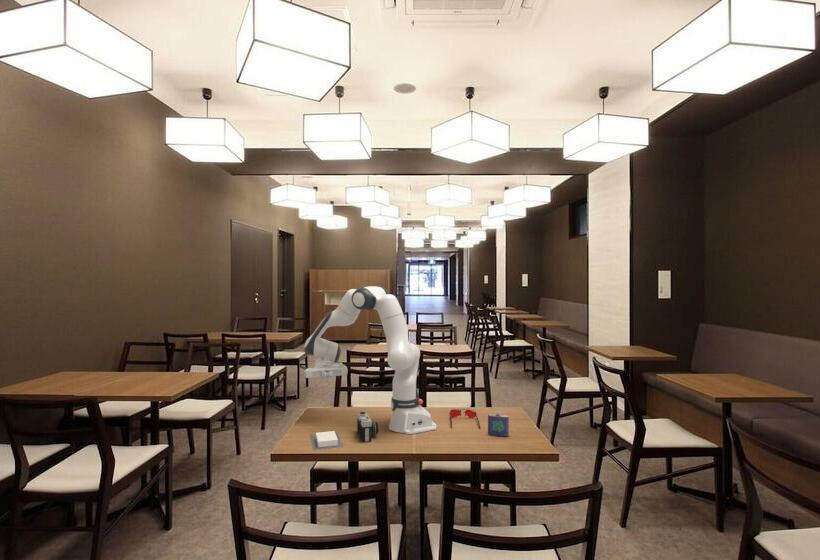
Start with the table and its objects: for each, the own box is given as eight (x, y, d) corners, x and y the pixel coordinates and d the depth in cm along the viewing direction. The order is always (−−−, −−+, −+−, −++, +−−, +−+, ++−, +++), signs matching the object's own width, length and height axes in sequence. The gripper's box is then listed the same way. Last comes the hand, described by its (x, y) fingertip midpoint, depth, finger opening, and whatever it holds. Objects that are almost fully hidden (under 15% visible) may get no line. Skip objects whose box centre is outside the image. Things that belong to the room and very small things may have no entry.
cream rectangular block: (334, 431, 190) (337, 439, 179) (334, 436, 190) (337, 446, 179) (315, 432, 188) (318, 441, 177) (315, 438, 188) (318, 448, 177)
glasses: (476, 418, 220) (476, 409, 220) (480, 429, 203) (480, 419, 203) (448, 418, 220) (448, 408, 220) (450, 429, 204) (450, 418, 204)
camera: (379, 442, 185) (378, 419, 185) (358, 444, 183) (357, 420, 183) (377, 431, 198) (376, 409, 198) (357, 433, 197) (356, 411, 197)
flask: (508, 435, 195) (508, 411, 195) (508, 437, 192) (508, 413, 192) (487, 433, 197) (488, 410, 197) (487, 435, 194) (487, 411, 194)
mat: (337, 433, 196) (337, 432, 196) (343, 448, 178) (343, 447, 178) (310, 435, 192) (310, 434, 192) (313, 451, 175) (313, 450, 175)
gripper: (303, 364, 214) (305, 369, 201) (344, 361, 220) (349, 366, 207) (303, 377, 214) (305, 383, 201) (345, 374, 220) (349, 379, 207)
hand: (328, 374), depth 204 cm, fingers closed
